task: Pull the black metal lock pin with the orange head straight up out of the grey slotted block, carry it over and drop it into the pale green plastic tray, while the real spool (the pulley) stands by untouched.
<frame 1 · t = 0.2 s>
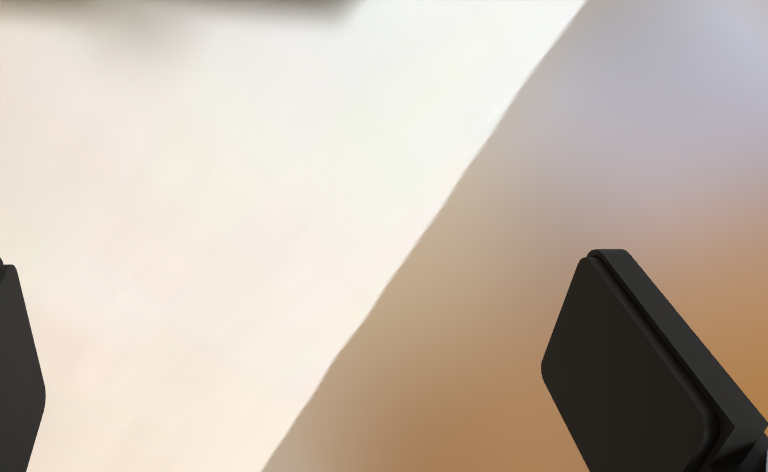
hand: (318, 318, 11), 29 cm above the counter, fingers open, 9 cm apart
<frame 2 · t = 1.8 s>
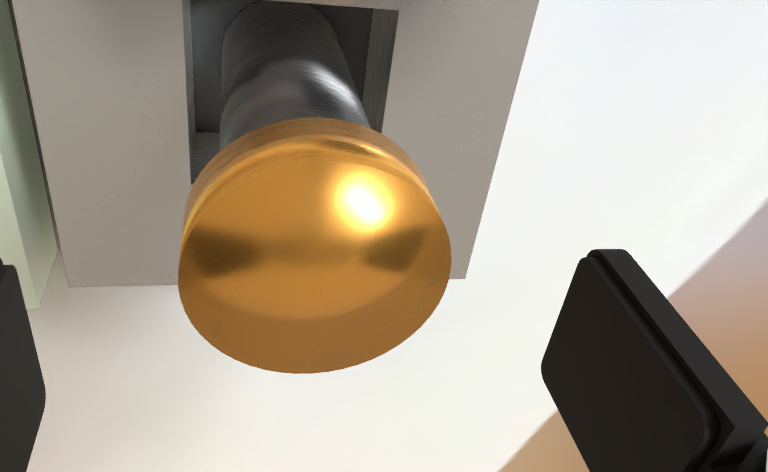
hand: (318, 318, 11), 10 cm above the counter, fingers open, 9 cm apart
lock pin: (296, 139, 15), in the grey slotted block
grey slotted block: (282, 57, 19), on the counter
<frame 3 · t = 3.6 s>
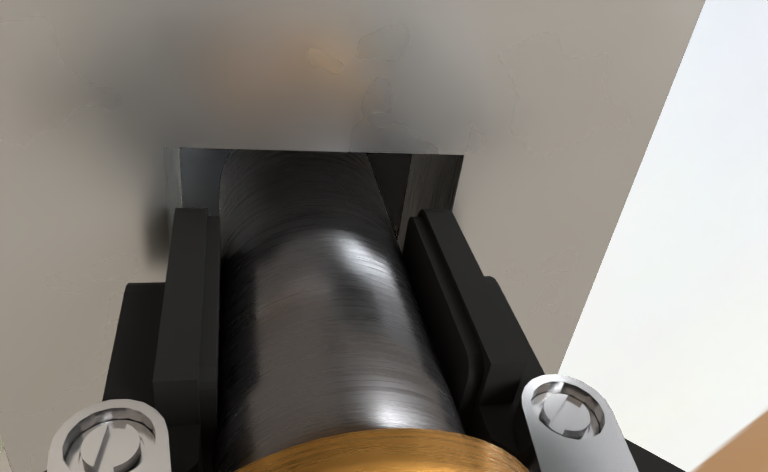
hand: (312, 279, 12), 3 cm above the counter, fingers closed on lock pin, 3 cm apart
lock pin: (323, 346, 11), in the grey slotted block, touching gripper
grey slotted block: (298, 187, 14), on the counter
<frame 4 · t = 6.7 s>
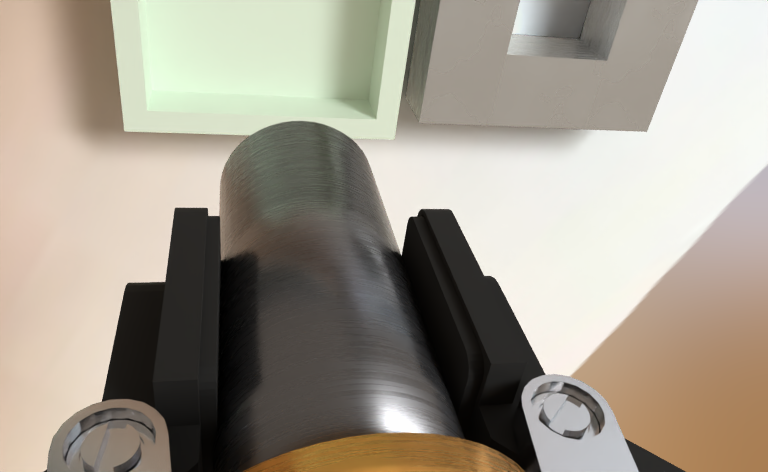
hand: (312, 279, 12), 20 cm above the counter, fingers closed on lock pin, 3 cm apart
lock pin: (323, 349, 11), point 22 cm above the counter, touching gripper
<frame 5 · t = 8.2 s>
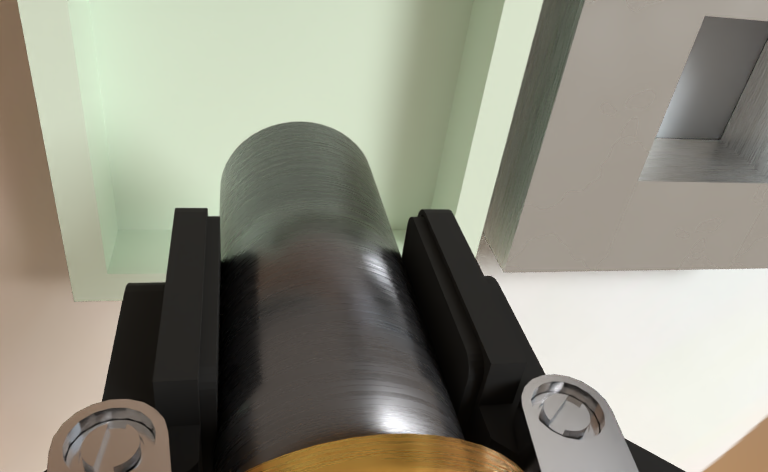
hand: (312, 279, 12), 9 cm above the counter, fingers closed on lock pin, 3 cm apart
tray: (285, 77, 19), on the counter
lock pin: (323, 350, 11), point 11 cm above the counter, touching gripper
grey slotted block: (686, 69, 21), on the counter
when the fingers open (5 cm above the counter, at t = 9.6 s): lock pin drops 1 cm, resting on tray.
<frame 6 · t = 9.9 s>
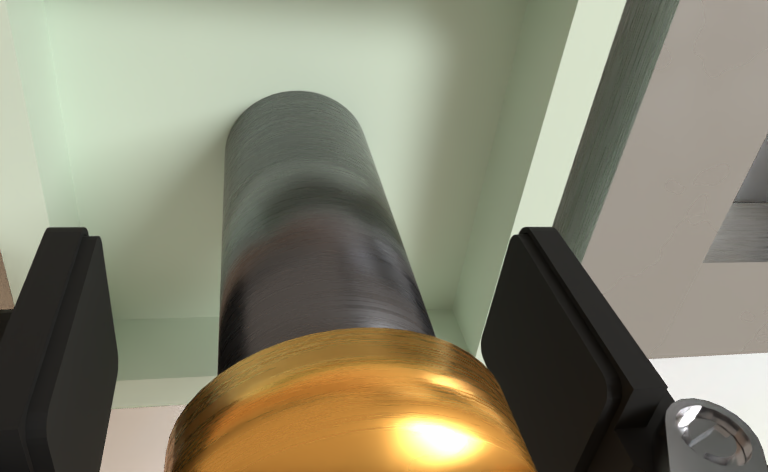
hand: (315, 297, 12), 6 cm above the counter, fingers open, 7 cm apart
tray: (291, 147, 16), on the counter
lock pin: (318, 289, 12), in the tray, point 6 cm above the counter
grey slotted block: (752, 128, 18), on the counter
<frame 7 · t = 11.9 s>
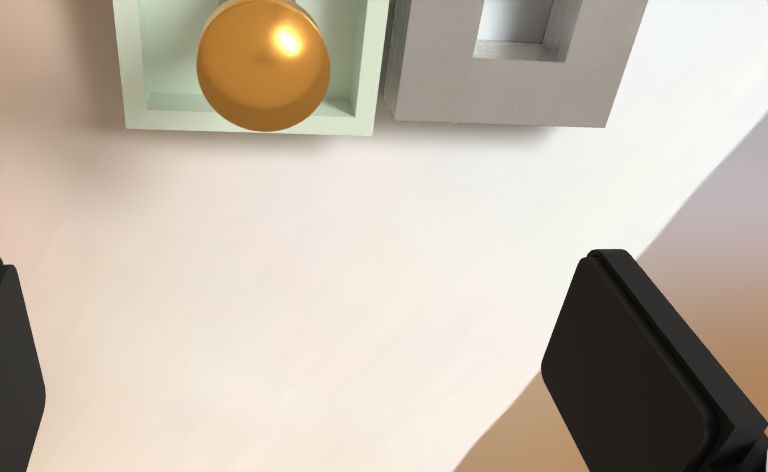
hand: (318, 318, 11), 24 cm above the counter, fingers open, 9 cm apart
lock pin: (260, 27, 27), in the tray, point 6 cm above the counter
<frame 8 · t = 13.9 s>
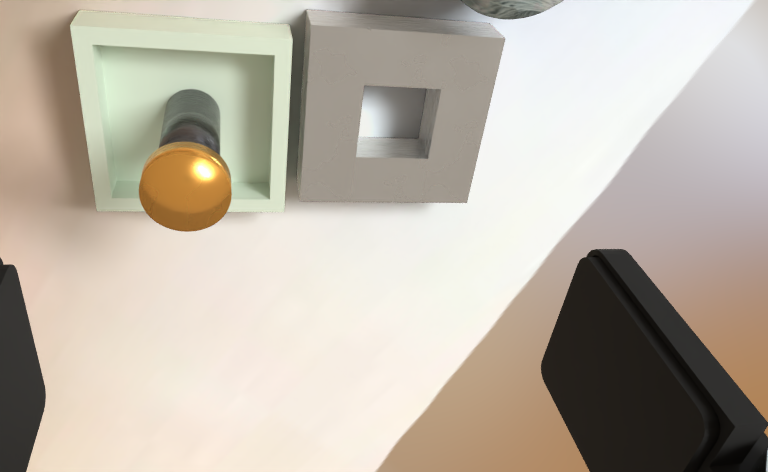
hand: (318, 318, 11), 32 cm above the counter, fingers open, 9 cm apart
tray: (192, 110, 42), on the counter
lock pin: (189, 150, 38), in the tray, point 6 cm above the counter
grey slotted block: (388, 104, 44), on the counter
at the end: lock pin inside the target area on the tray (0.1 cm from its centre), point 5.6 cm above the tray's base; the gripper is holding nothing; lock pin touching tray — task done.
